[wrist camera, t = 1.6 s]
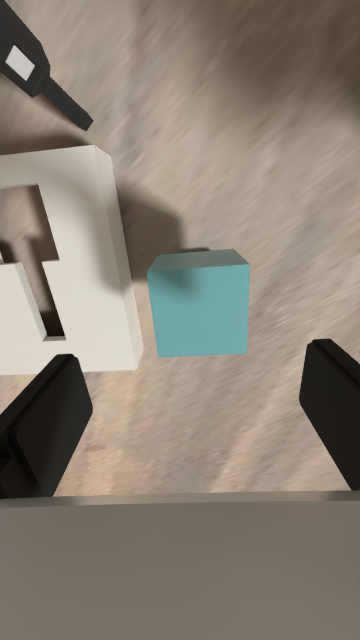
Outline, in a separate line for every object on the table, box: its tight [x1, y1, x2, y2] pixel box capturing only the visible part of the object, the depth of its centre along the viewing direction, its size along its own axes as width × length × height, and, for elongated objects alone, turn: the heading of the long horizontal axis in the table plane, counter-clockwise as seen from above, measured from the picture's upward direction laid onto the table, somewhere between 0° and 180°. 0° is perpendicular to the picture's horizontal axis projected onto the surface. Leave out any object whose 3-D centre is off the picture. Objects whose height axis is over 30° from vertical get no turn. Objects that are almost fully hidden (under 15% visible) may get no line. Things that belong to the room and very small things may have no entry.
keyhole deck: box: [0, 145, 144, 375], centre depth 24 cm, size 16×20×4 cm
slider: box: [146, 249, 250, 357], centre depth 20 cm, size 6×6×11 cm
